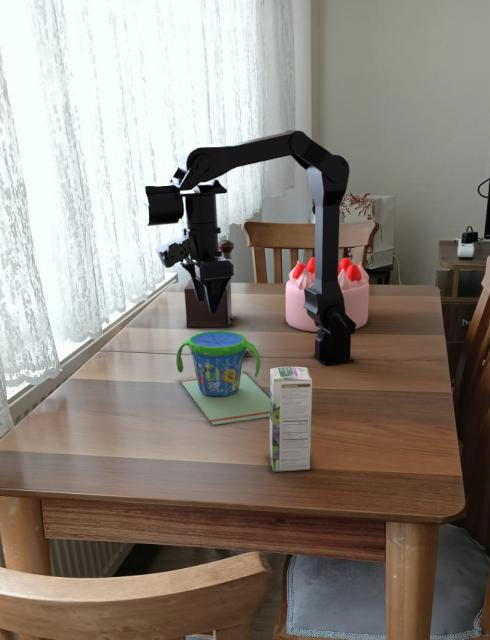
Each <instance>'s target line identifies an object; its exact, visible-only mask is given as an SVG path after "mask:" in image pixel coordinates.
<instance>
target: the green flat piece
mask: <svg viewBox="0 0 490 640" xmlns="http://www.w3.org/2000/svg"><path fill="white" fill-rule="evenodd" d="M179 381H180V383H181V385H183V387H184V388H185V390H186V391H187V392H188V394H189V395H190V396H191V398H192V399H193V401H194V402H195V403H196V405H197V406H198V407H199V409H200V410H201V411H202V413H203V414H204V415H205V417H206V418H207V419H208V421H209V422H210V423H211V425H212V426H218V425H224V424H231V423H238V422H239V423H240V422H244V421H245V422H246V421H251V420H259V419H264V418H270V396H268V395H267V394H266V393H265V392H264V391H263V390H262V389H261V388H260V387H259V386H258V385H257V384H256V383H255V382H254V381H253V380H252V379H251V378H250V377H249V376H248V375H247V374H246V373H245V372H244V371H243V370H241V377H240V385H239V389H238V391H236V392H235V393H233V394H230V395H227V396H221V395H219V396H210V395H205V394H204V393H202V392H201V391H200V389H199V386H198V381H197V377H191V378H183V379H179Z"/></svg>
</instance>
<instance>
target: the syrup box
mask: <svg viewBox="0 0 490 640" xmlns="http://www.w3.org/2000/svg"><path fill="white" fill-rule="evenodd" d="M269 375H270V376H269V398H270V417H269V459H270V465H271V468H272V472H274V473H275V472H276V473H277V472H291V471H304V470H305V471H306V470H311V447H312V446H311V443H312V442H311V440H312V408H313V407H312V405H313V379H312V376H311V373H310V370H309V369H308V368H307V367H303V366H279V367H273V368H270V370H269Z"/></svg>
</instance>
